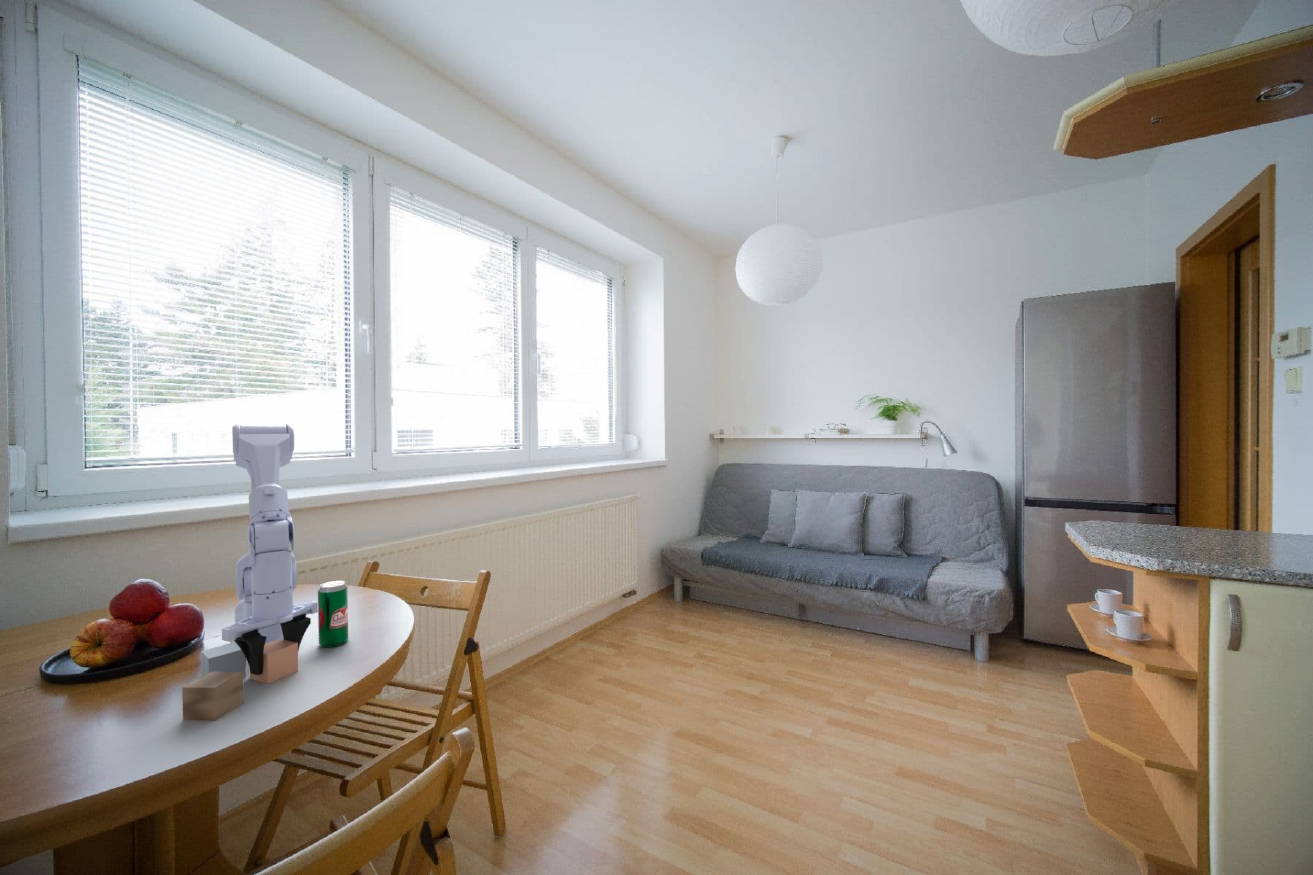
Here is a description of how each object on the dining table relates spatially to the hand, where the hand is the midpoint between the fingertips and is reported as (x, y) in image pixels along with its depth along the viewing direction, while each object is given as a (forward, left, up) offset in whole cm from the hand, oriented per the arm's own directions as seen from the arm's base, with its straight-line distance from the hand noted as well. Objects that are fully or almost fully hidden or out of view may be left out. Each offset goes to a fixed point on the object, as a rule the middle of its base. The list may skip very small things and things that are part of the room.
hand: (274, 666), depth 91 cm
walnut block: (+4, -11, -2) cm, 12 cm away
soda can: (-3, +13, -2) cm, 13 cm away
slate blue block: (-7, -4, -2) cm, 8 cm away
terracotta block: (0, 0, -1) cm, 1 cm away
